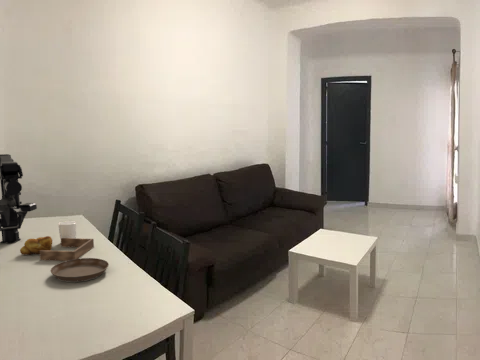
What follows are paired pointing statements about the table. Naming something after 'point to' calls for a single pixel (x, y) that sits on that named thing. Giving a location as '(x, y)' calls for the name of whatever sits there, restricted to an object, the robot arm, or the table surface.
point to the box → (68, 255)
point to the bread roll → (36, 245)
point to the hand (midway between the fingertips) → (14, 225)
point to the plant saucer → (79, 269)
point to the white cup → (67, 229)
